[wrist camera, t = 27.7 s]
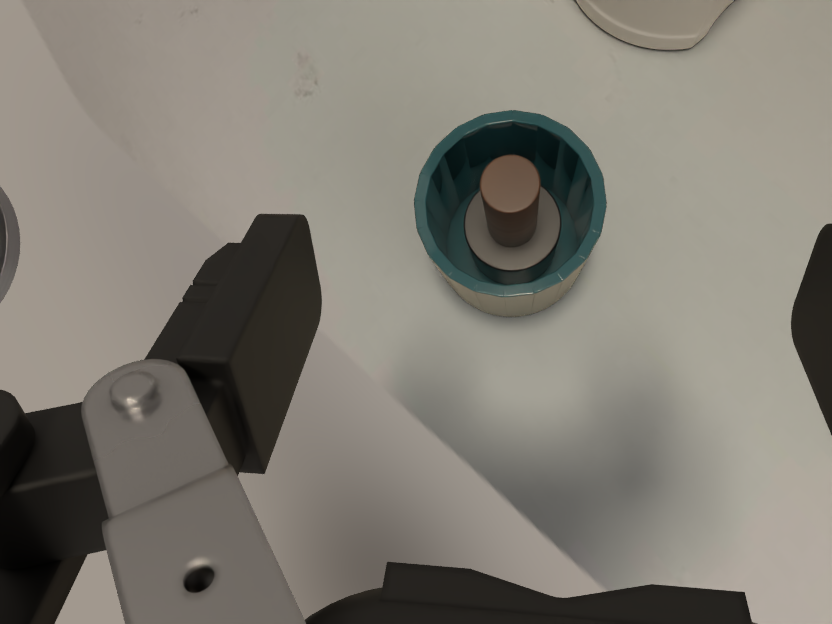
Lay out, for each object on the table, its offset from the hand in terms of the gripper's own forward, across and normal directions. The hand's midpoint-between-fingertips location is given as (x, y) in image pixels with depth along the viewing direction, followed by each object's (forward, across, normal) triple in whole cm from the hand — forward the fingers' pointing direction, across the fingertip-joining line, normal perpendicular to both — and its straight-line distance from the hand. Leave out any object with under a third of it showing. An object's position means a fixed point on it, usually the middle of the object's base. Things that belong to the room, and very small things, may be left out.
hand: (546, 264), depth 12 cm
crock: (+22, +1, +14) cm, 26 cm away
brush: (+21, +1, +14) cm, 25 cm away
